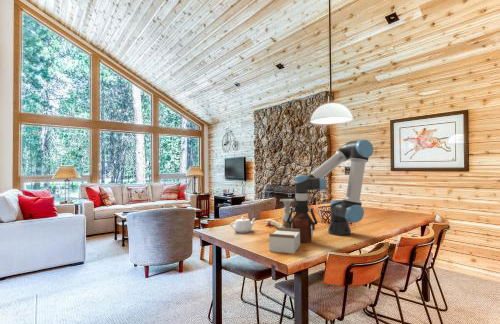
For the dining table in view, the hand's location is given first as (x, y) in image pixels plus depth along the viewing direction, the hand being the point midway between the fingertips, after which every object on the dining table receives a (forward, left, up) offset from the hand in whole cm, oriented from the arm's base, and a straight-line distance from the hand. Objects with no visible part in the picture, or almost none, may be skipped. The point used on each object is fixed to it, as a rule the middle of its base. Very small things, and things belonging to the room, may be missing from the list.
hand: (302, 234), depth 175 cm
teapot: (+45, -15, -4) cm, 48 cm away
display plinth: (+7, +16, -4) cm, 18 cm away
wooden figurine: (0, 0, -4) cm, 4 cm away
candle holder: (+13, -17, -4) cm, 22 cm away
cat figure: (+27, -34, -5) cm, 44 cm away
